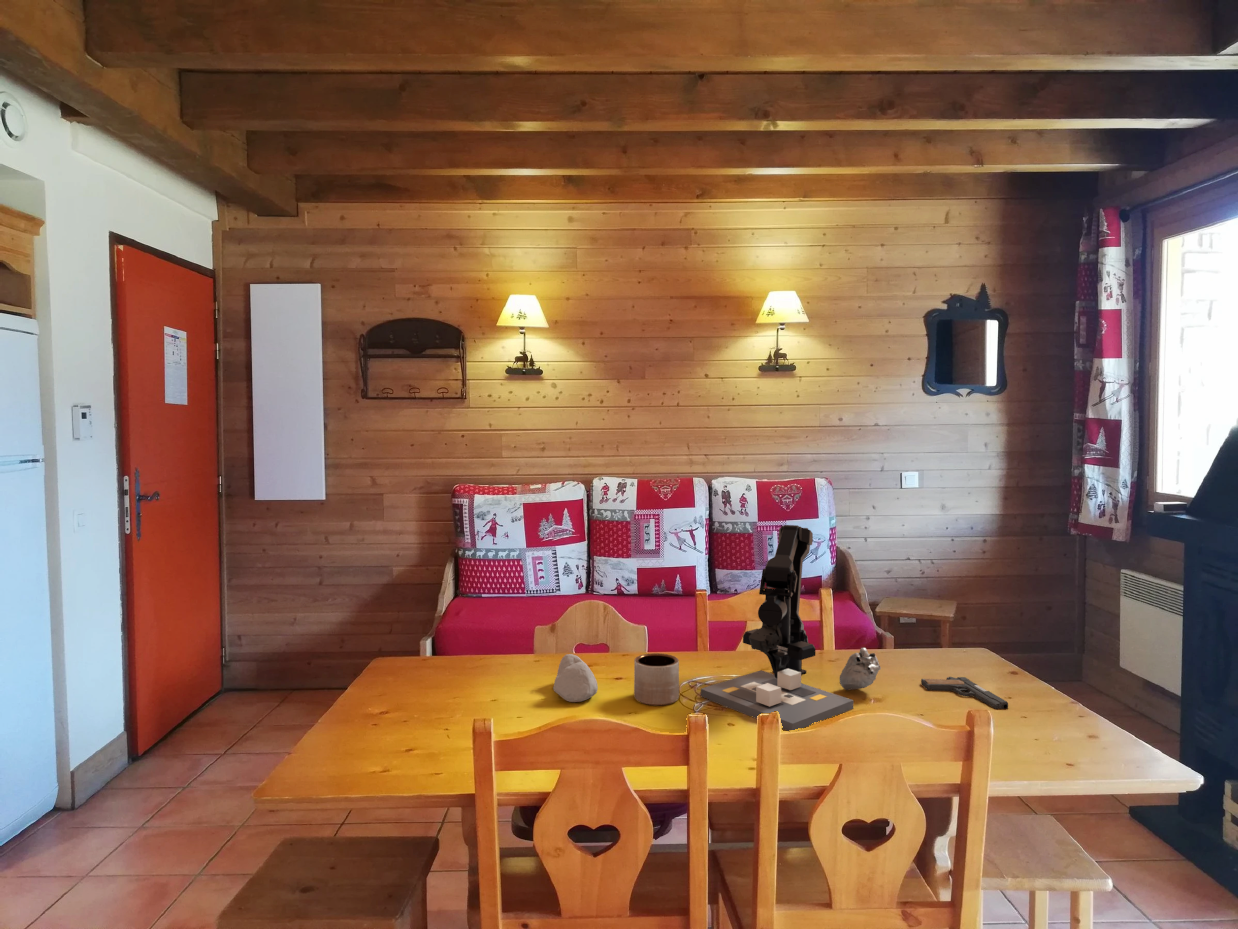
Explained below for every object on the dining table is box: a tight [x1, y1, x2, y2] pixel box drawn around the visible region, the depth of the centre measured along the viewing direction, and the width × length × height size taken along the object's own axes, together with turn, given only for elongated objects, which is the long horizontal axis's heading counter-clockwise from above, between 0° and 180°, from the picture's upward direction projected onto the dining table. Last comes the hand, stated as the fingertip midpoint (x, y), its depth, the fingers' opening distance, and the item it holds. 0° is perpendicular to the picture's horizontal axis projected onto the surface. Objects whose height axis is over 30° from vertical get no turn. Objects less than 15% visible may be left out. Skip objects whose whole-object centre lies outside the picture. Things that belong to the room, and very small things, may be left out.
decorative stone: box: [552, 653, 599, 703], centre depth 194 cm, size 17×10×10 cm
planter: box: [633, 652, 680, 707], centre depth 189 cm, size 11×11×10 cm
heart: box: [839, 647, 882, 691], centre depth 194 cm, size 10×10×12 cm
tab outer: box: [756, 683, 781, 707], centre depth 180 cm, size 4×4×4 cm
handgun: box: [920, 676, 1009, 710], centre depth 191 cm, size 19×2×12 cm
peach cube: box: [777, 669, 802, 690], centre depth 191 cm, size 4×4×4 cm
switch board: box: [700, 669, 854, 732], centre depth 187 cm, size 22×28×2 cm
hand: (777, 678), depth 194 cm, fingers closed
